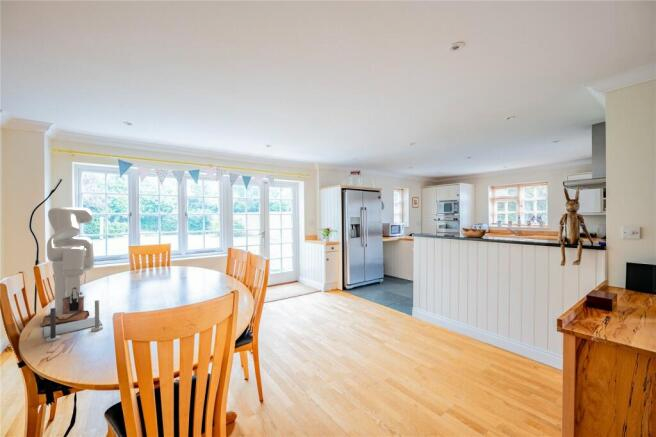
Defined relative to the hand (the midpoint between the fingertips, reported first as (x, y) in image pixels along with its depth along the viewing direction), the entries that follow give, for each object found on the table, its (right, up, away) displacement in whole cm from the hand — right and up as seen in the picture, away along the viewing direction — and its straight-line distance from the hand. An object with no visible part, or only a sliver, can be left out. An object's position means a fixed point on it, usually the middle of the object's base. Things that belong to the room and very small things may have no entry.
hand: (73, 309), depth 133 cm
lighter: (0, -2, 0) cm, 2 cm away
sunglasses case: (-11, -10, +7) cm, 16 cm away
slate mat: (0, -9, 0) cm, 9 cm away
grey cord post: (+14, -9, -2) cm, 17 cm away
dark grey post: (+4, -9, -13) cm, 17 cm away
